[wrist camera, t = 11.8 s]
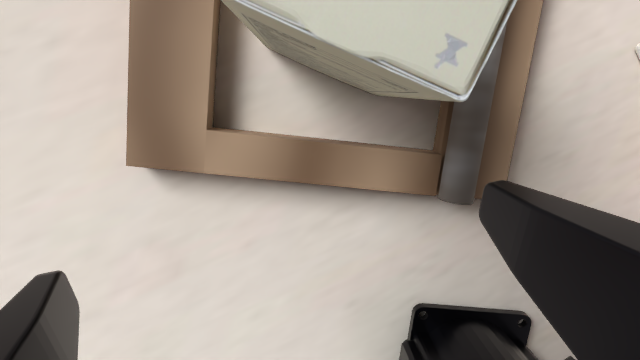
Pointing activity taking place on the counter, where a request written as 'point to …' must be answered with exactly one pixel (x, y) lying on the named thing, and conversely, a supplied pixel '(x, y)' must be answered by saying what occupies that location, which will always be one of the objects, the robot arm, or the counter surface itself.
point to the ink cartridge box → (638, 50)
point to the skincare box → (384, 41)
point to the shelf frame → (304, 152)
